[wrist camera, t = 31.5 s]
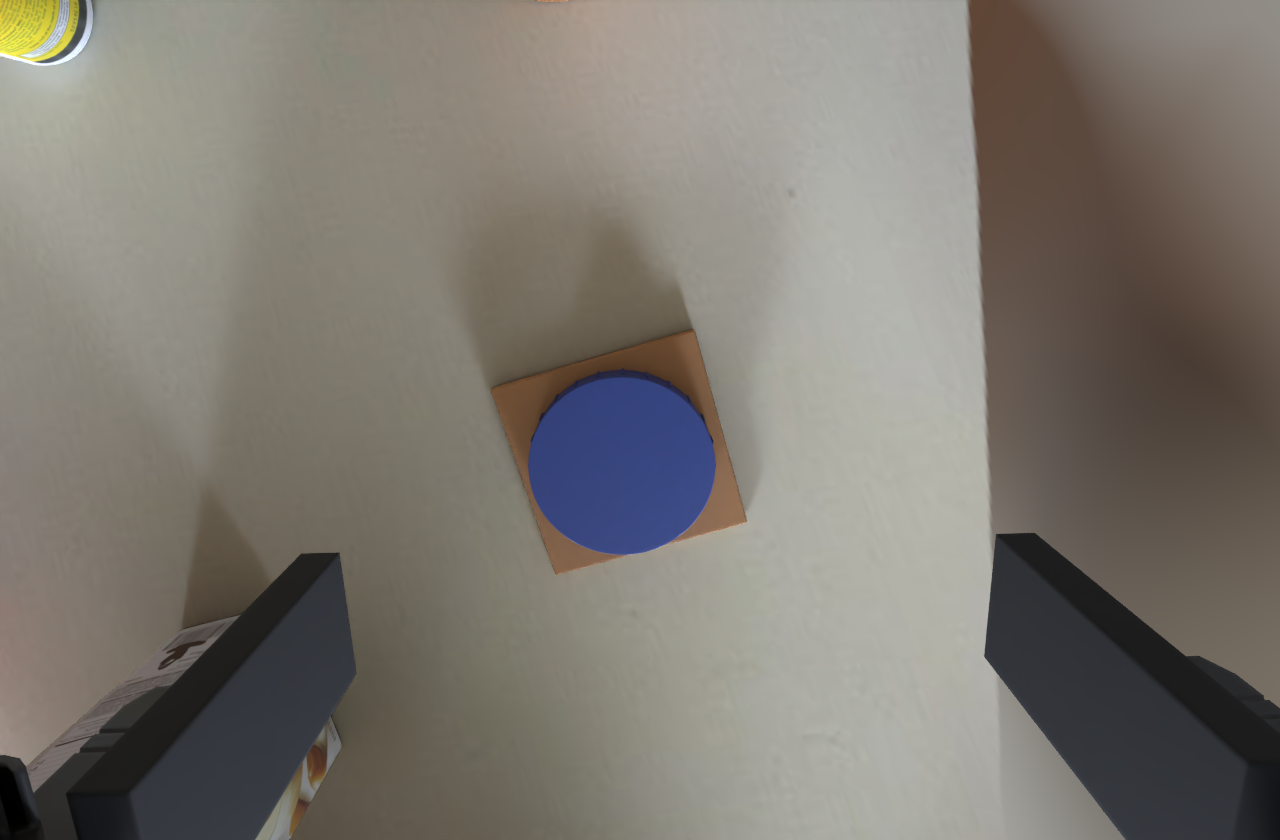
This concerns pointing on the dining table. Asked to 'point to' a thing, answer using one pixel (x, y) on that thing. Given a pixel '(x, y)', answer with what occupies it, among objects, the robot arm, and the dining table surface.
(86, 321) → the dining table surface
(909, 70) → the dining table surface
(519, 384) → the coaster
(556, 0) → the jar
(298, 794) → the coffee box
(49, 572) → the dining table surface
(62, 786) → the robot arm
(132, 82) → the dining table surface
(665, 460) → the lid
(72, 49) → the supplement bottle
